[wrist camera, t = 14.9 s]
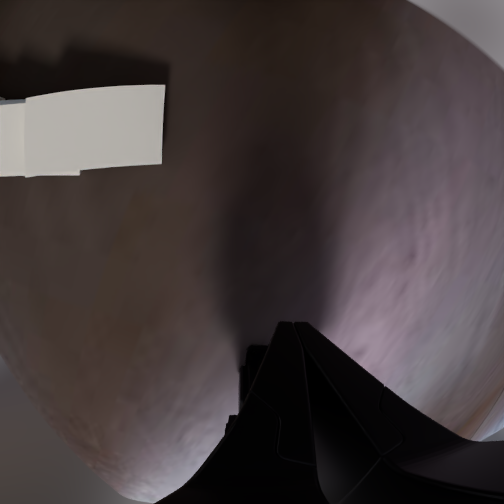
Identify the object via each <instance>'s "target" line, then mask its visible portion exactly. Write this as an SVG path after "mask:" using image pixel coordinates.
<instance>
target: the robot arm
mask: <svg viewBox="0 0 504 504" xmlns="http://www.w3.org/2000/svg"><path fill="white" fill-rule="evenodd" d="M251 351H255V352H251ZM154 504H504V441H489V442H478V441H472V440H468V439H465V438H462V437H460V436H459V435H457V434H455V433H453V432H452V431H450V430H448V429H447V428H445V427H444V426H442V425H440V424H439V423H437V422H436V421H434V420H432V419H431V418H429V417H428V416H426V415H425V414H423V413H422V412H420V411H419V410H417V409H416V408H414V407H413V406H411V405H410V404H408V403H407V402H406V401H404V400H403V399H402V398H400V397H399V396H398V395H396V394H395V393H394V392H393V391H391V390H390V389H389V388H388V387H386V386H385V387H384V384H382V383H381V382H380V381H379V380H377V379H376V378H375V377H374V376H373V375H371V374H370V373H369V372H368V371H366V370H365V369H364V368H363V367H361V366H360V365H359V364H358V363H357V362H355V361H354V360H353V359H352V358H350V357H349V356H348V355H347V354H346V353H344V352H343V351H342V350H341V349H340V348H338V347H337V346H336V345H335V344H333V343H332V342H331V341H330V340H329V339H327V338H326V337H325V336H324V335H323V334H321V333H320V332H319V331H318V330H317V329H315V328H314V327H313V326H312V325H311V324H309V323H308V322H294V323H293V322H287V321H280V322H278V324H277V327H276V329H275V332H274V334H273V337H272V339H271V342H270V344H269V346H249V347H248V348H247V353H246V363H245V366H241V367H240V375H239V413H238V415H229V420H228V423H226V429H225V435H224V437H223V438H222V439H221V441H220V442H219V443H218V445H217V446H216V447H215V449H214V450H213V451H212V453H211V454H210V455H209V457H208V458H207V459H206V461H205V462H204V463H203V464H202V466H201V467H200V468H199V469H198V471H197V472H196V473H195V474H194V475H193V476H192V477H191V478H190V480H188V481H187V482H186V483H185V484H184V485H183V486H182V487H180V488H179V489H178V490H176V491H174V492H173V493H171V494H169V495H168V496H166V497H164V498H163V499H161V500H159V501H158V502H156V503H154Z"/></svg>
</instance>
